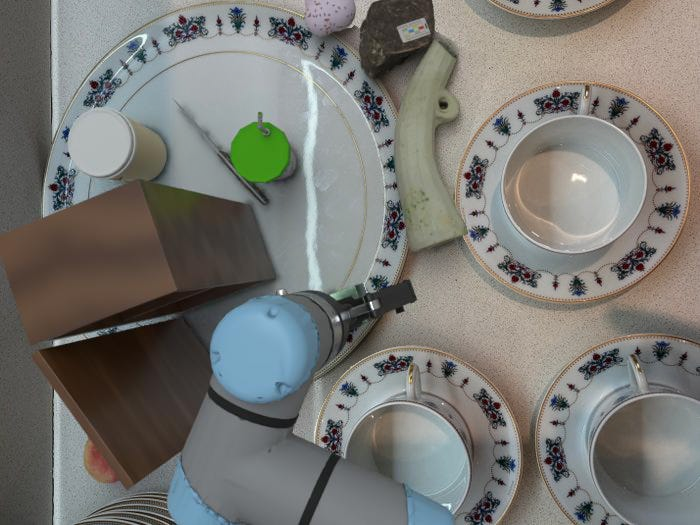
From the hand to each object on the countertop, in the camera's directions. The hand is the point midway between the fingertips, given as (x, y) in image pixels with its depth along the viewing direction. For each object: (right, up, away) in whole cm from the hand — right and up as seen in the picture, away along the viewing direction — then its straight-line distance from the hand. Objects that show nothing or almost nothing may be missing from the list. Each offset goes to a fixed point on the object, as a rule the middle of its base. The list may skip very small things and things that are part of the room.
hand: (341, 314), depth 83 cm
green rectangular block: (+2, +1, +9) cm, 9 cm away
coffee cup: (-29, +22, +14) cm, 39 cm away
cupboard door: (-21, -10, +13) cm, 27 cm away
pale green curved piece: (+6, +22, +3) cm, 23 cm away
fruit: (-32, -20, +15) cm, 41 cm away
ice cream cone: (+2, +51, +8) cm, 52 cm away
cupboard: (-19, +7, +12) cm, 23 cm away
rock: (+2, +39, +5) cm, 39 cm away
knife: (-17, +22, +12) cm, 31 cm away
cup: (-9, +21, +11) cm, 25 cm away
